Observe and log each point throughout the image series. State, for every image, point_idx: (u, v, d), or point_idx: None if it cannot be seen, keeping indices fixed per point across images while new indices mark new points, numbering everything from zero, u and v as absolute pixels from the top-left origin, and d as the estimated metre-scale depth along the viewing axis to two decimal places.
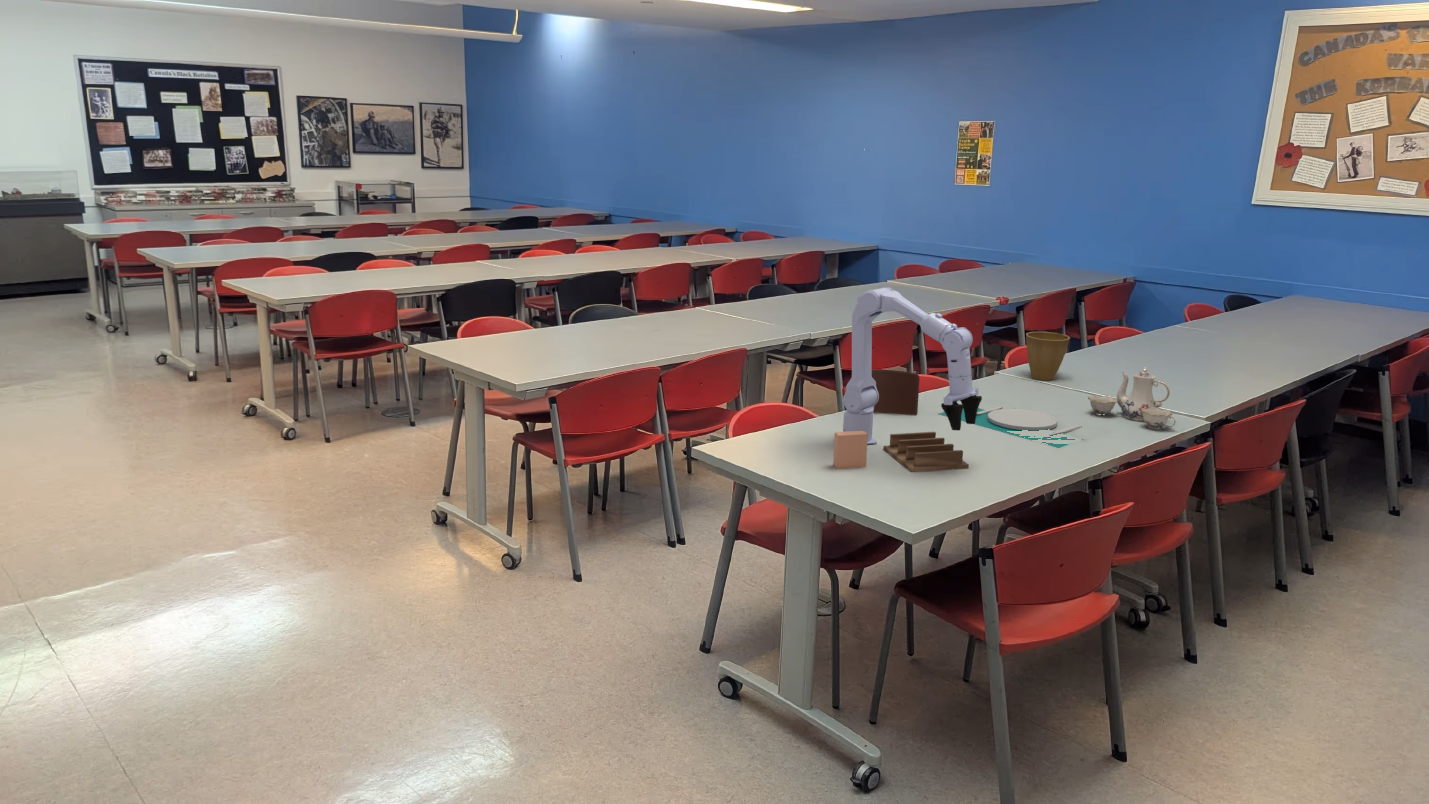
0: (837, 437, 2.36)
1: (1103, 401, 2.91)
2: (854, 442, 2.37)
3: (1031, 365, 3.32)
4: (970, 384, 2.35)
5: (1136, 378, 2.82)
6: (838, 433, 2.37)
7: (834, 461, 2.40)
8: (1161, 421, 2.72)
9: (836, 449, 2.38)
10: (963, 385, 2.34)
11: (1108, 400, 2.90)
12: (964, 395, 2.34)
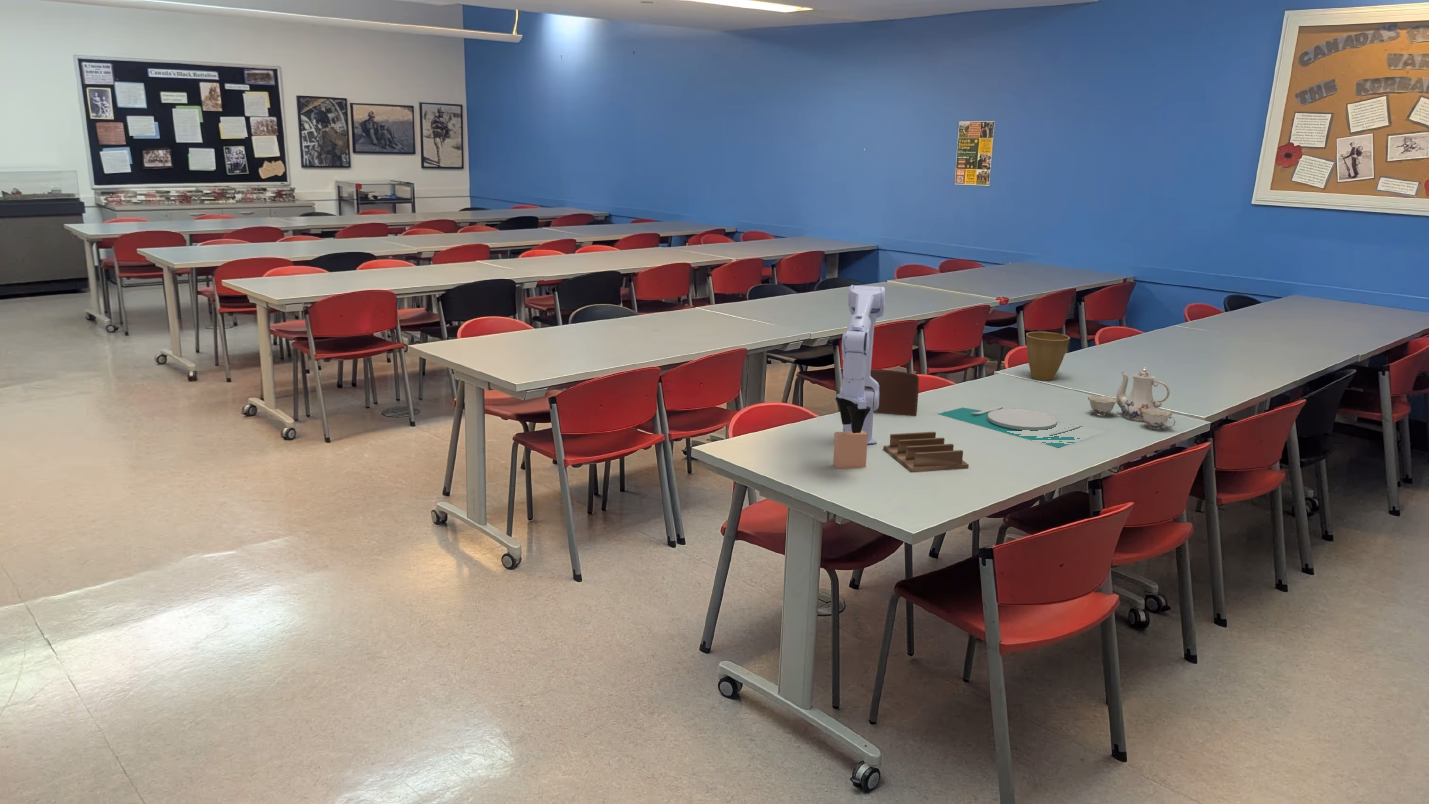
0: (837, 437, 2.36)
1: (1103, 401, 2.91)
2: (854, 442, 2.37)
3: (1031, 365, 3.32)
4: (843, 386, 2.34)
5: (1136, 378, 2.82)
6: (838, 433, 2.37)
7: (834, 461, 2.40)
8: (1161, 421, 2.72)
9: (836, 449, 2.38)
10: None
11: (1108, 400, 2.90)
12: (841, 393, 2.37)
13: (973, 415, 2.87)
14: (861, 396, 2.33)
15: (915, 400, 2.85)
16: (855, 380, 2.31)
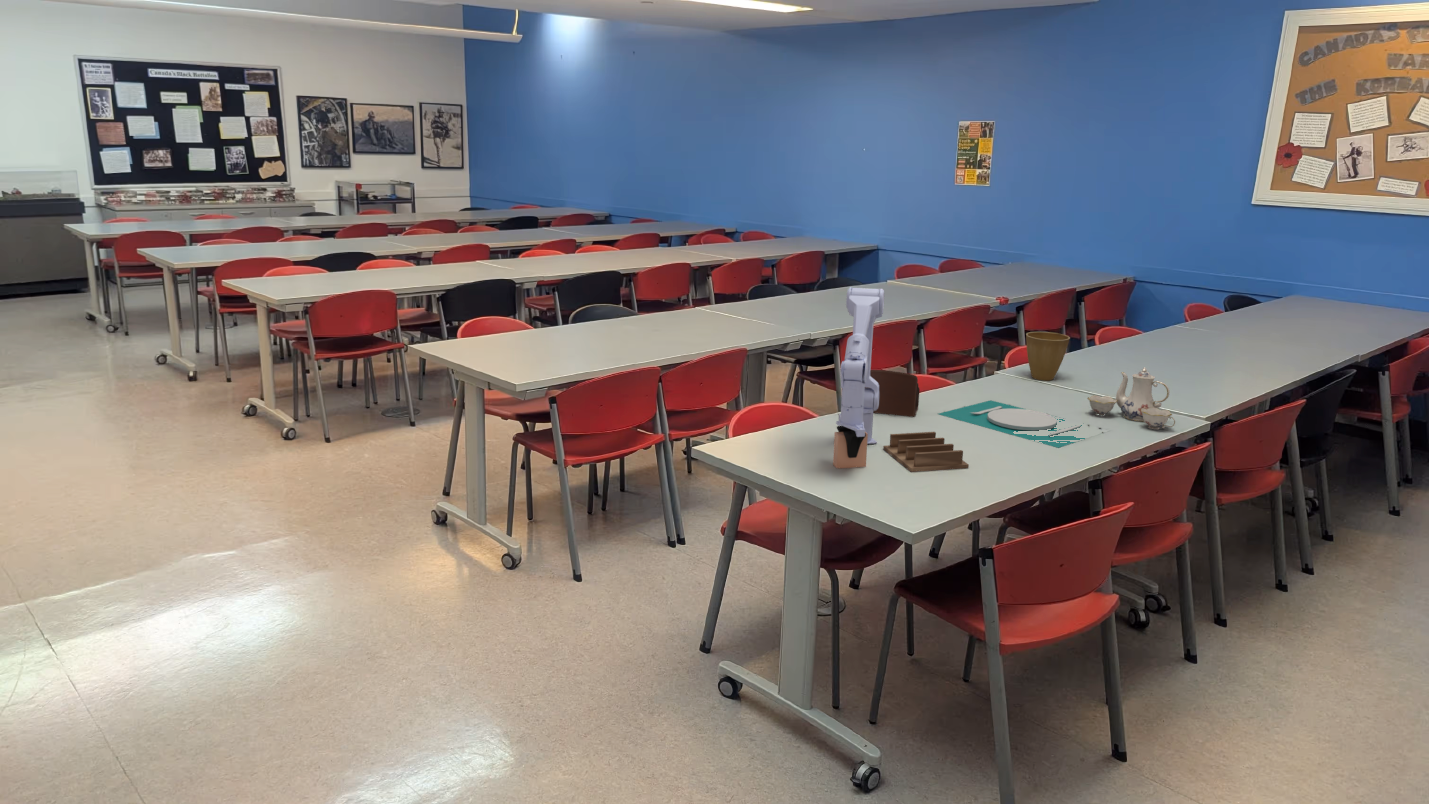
0: (837, 437, 2.36)
1: (1102, 401, 2.91)
2: None
3: (1031, 365, 3.32)
4: (841, 414, 2.36)
5: (1136, 378, 2.82)
6: (838, 433, 2.37)
7: (834, 461, 2.40)
8: (1161, 421, 2.72)
9: (836, 449, 2.38)
10: None
11: (1107, 400, 2.90)
12: (839, 420, 2.39)
13: (973, 415, 2.87)
14: (860, 424, 2.35)
15: (914, 401, 2.84)
16: (854, 408, 2.33)
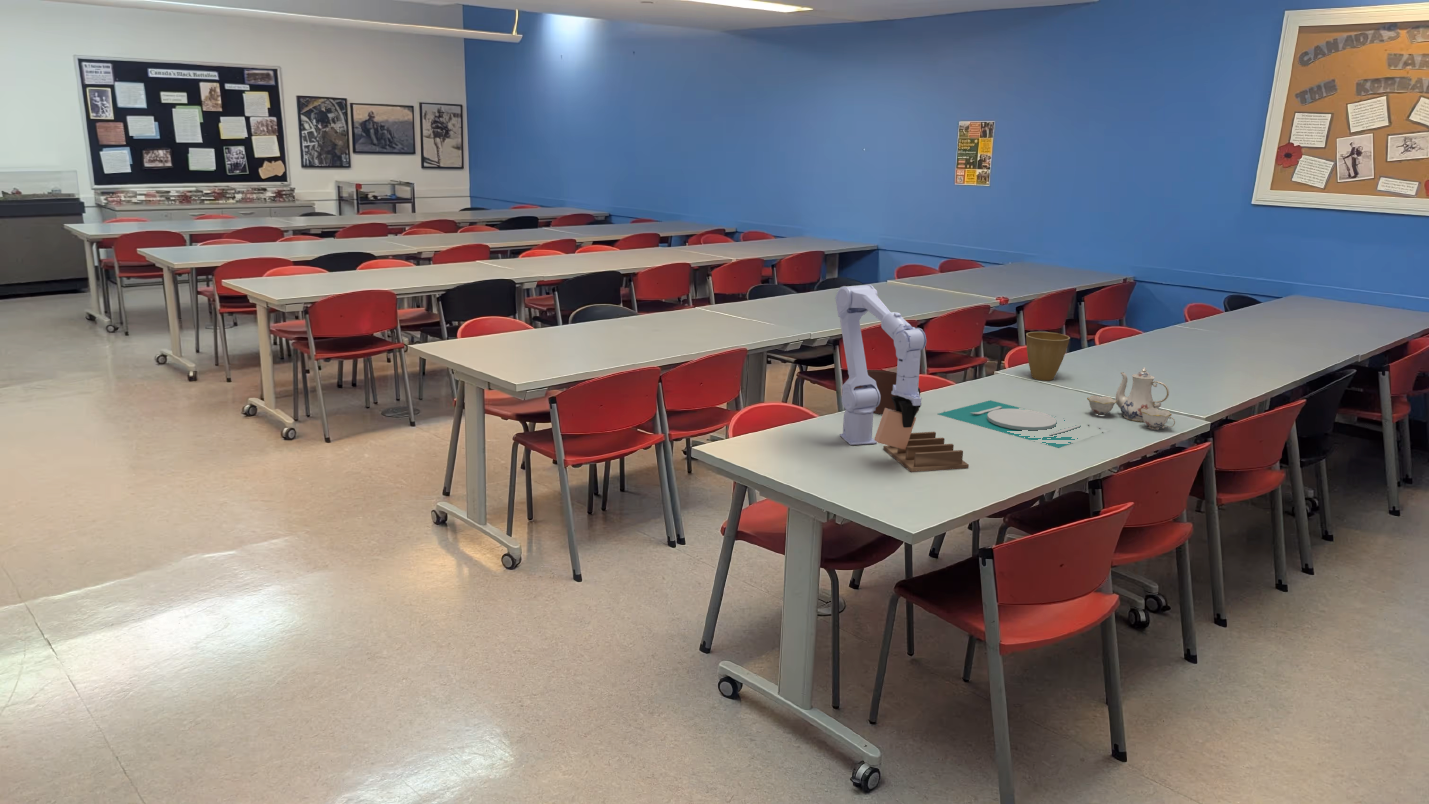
0: (887, 412, 2.39)
1: (1102, 401, 2.91)
2: (901, 422, 2.40)
3: (1031, 365, 3.32)
4: (897, 384, 2.38)
5: (1135, 378, 2.81)
6: (888, 409, 2.40)
7: (876, 436, 2.42)
8: (1161, 421, 2.71)
9: (882, 424, 2.40)
10: None
11: (1107, 400, 2.90)
12: (894, 390, 2.41)
13: (973, 415, 2.87)
14: (915, 393, 2.37)
15: None
16: (910, 377, 2.36)
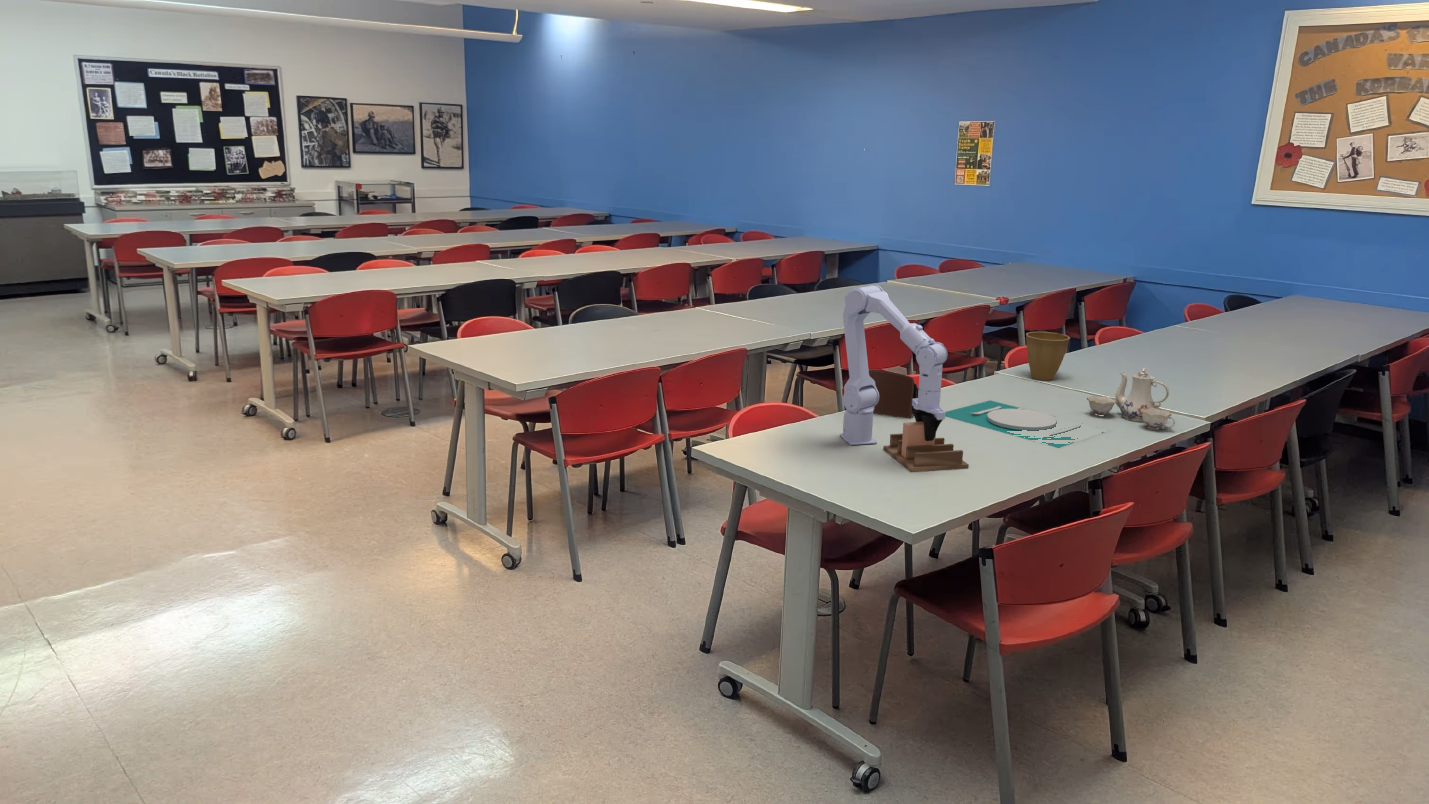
0: (907, 427, 2.41)
1: (1102, 402, 2.91)
2: (923, 432, 2.42)
3: (1031, 365, 3.32)
4: (919, 398, 2.41)
5: (1135, 378, 2.81)
6: (907, 423, 2.43)
7: (903, 451, 2.45)
8: (1160, 422, 2.71)
9: (905, 439, 2.43)
10: None
11: (1107, 401, 2.90)
12: (916, 404, 2.44)
13: (973, 415, 2.87)
14: (937, 407, 2.40)
15: (910, 403, 2.82)
16: (932, 392, 2.39)
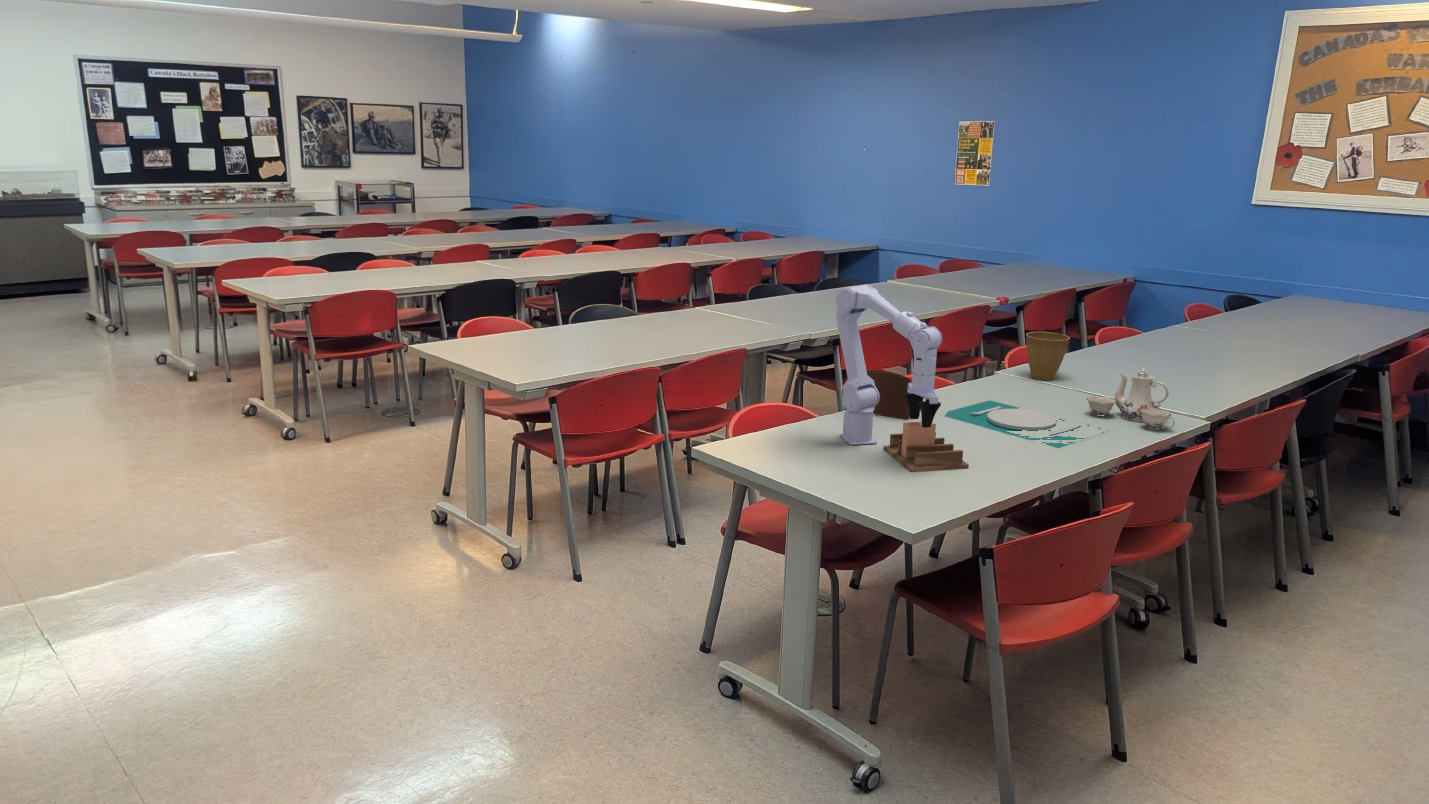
0: (907, 427, 2.41)
1: (1101, 402, 2.90)
2: (923, 432, 2.42)
3: (1031, 365, 3.32)
4: (913, 382, 2.40)
5: (1135, 379, 2.81)
6: (907, 423, 2.43)
7: (903, 451, 2.45)
8: (1160, 422, 2.71)
9: (905, 439, 2.43)
10: None
11: (1106, 401, 2.90)
12: (910, 388, 2.43)
13: (972, 415, 2.87)
14: (931, 391, 2.39)
15: None
16: (926, 376, 2.38)
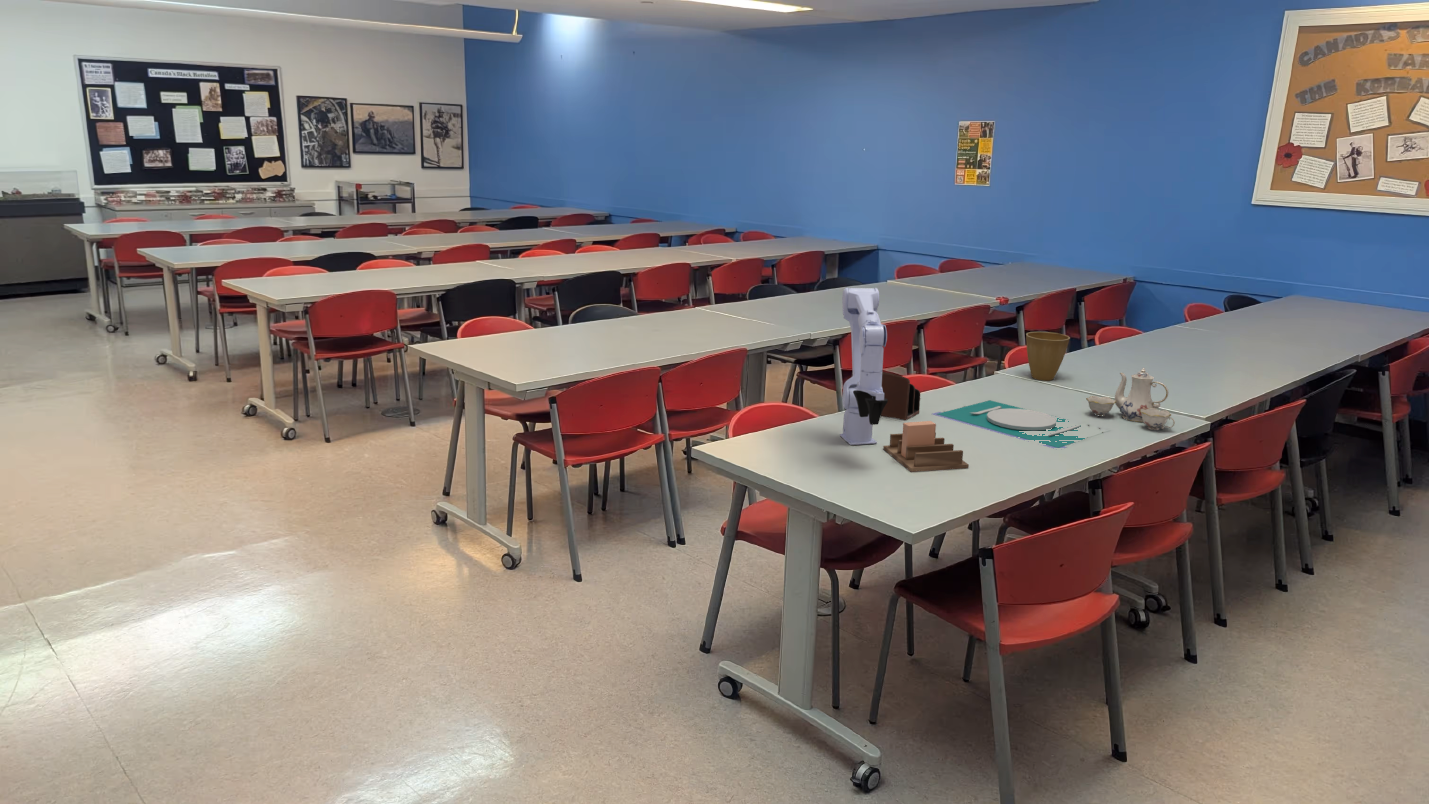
0: (907, 427, 2.41)
1: (1101, 402, 2.90)
2: (923, 432, 2.42)
3: (1031, 365, 3.32)
4: (860, 379, 2.41)
5: (1134, 379, 2.81)
6: (907, 423, 2.43)
7: (903, 451, 2.45)
8: (1160, 422, 2.71)
9: (905, 439, 2.43)
10: None
11: (1106, 401, 2.89)
12: (858, 386, 2.44)
13: (972, 415, 2.87)
14: (878, 388, 2.40)
15: (905, 404, 2.80)
16: (873, 373, 2.38)
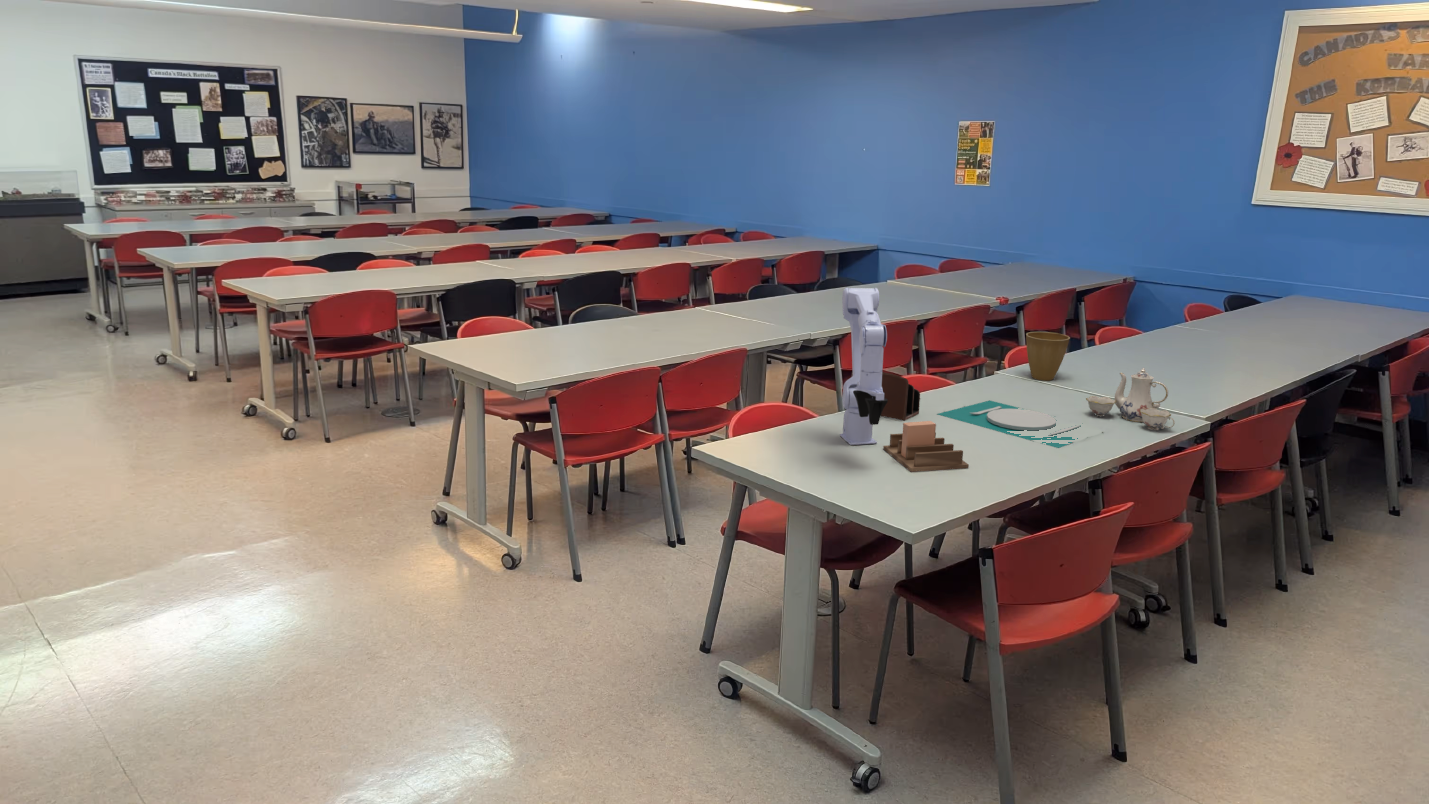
0: (907, 427, 2.41)
1: (1101, 402, 2.90)
2: (923, 432, 2.42)
3: (1031, 365, 3.32)
4: (860, 379, 2.41)
5: (1134, 379, 2.81)
6: (907, 423, 2.43)
7: (903, 451, 2.45)
8: (1160, 422, 2.71)
9: (905, 439, 2.43)
10: None
11: (1106, 401, 2.89)
12: (858, 386, 2.44)
13: (972, 415, 2.87)
14: (878, 388, 2.40)
15: (904, 404, 2.80)
16: (873, 373, 2.38)
